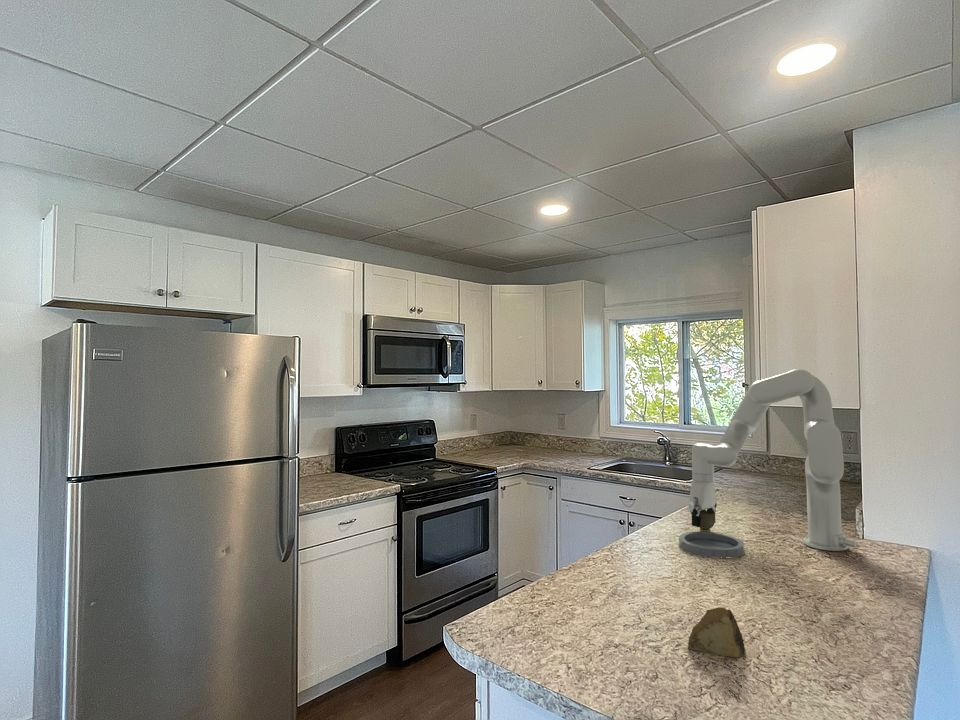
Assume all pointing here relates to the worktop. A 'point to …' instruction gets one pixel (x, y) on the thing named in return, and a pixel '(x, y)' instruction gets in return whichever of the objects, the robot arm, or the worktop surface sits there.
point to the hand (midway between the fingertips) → (703, 524)
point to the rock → (717, 634)
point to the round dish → (711, 544)
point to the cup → (707, 520)
